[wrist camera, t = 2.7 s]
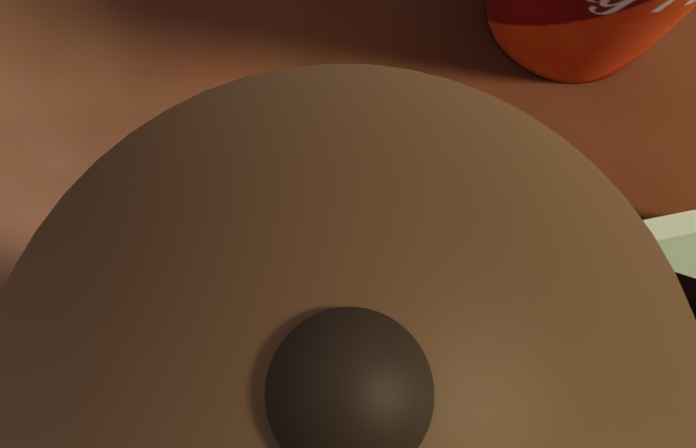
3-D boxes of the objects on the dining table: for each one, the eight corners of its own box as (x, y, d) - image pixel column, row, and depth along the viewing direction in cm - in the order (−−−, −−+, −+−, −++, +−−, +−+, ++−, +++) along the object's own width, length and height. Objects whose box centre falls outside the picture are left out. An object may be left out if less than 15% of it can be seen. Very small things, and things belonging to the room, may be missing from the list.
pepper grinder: (389, 497, 15) (664, 1042, 3) (228, 440, 15) (-212, 684, 3) (436, 332, 16) (774, 170, 4) (287, 282, 16) (152, -20, 4)
